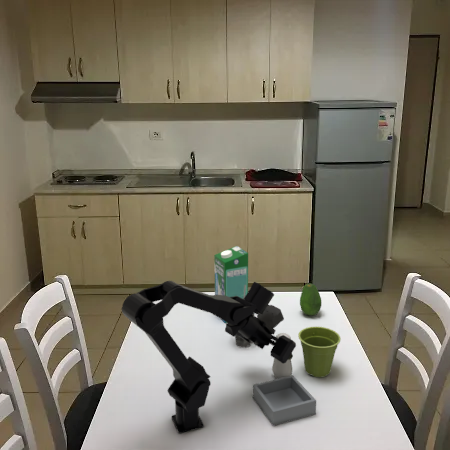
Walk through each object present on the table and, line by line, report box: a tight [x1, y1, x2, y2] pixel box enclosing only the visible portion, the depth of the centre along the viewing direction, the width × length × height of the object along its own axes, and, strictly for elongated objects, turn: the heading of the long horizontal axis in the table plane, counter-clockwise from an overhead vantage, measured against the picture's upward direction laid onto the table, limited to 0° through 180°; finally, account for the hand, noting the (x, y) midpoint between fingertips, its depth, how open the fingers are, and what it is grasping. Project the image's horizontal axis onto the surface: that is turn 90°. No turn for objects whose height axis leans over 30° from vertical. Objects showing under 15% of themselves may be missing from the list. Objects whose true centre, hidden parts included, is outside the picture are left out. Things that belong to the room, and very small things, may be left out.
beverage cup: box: [234, 285, 255, 348], centre depth 153 cm, size 7×7×20 cm
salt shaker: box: [271, 332, 293, 379], centre depth 136 cm, size 6×6×13 cm
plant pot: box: [298, 326, 342, 378], centre depth 138 cm, size 12×12×11 cm
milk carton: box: [213, 245, 249, 324], centre depth 171 cm, size 9×9×25 cm
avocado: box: [299, 283, 322, 316], centre depth 173 cm, size 8×8×12 cm
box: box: [252, 374, 317, 427], centre depth 124 cm, size 12×12×4 cm
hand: (279, 350), depth 134 cm, fingers open, 9 cm apart
